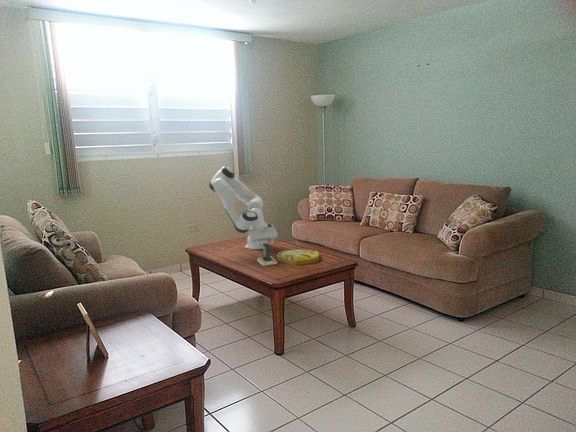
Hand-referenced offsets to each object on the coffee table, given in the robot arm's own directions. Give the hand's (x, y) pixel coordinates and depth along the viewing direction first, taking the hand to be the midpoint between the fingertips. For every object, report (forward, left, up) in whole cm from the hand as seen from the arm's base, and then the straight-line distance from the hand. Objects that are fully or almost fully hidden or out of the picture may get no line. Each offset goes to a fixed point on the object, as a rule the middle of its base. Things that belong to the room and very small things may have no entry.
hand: (266, 245), depth 302 cm
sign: (-3, +22, -12) cm, 26 cm away
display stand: (+3, 0, -11) cm, 12 cm away
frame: (+3, 0, -10) cm, 10 cm away
